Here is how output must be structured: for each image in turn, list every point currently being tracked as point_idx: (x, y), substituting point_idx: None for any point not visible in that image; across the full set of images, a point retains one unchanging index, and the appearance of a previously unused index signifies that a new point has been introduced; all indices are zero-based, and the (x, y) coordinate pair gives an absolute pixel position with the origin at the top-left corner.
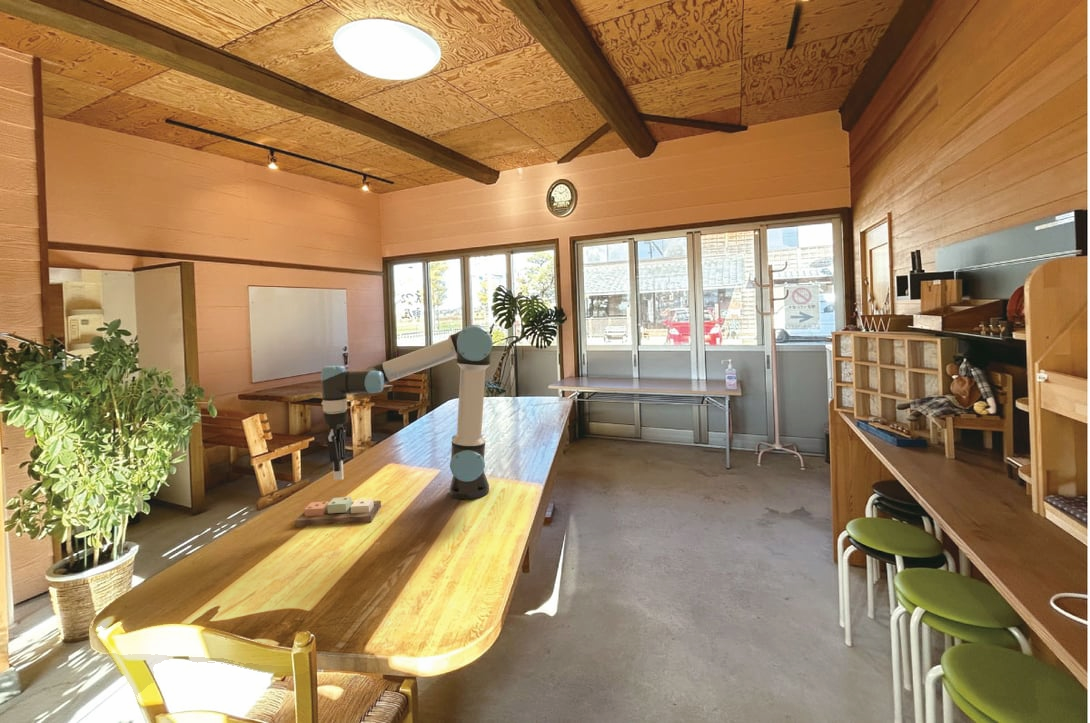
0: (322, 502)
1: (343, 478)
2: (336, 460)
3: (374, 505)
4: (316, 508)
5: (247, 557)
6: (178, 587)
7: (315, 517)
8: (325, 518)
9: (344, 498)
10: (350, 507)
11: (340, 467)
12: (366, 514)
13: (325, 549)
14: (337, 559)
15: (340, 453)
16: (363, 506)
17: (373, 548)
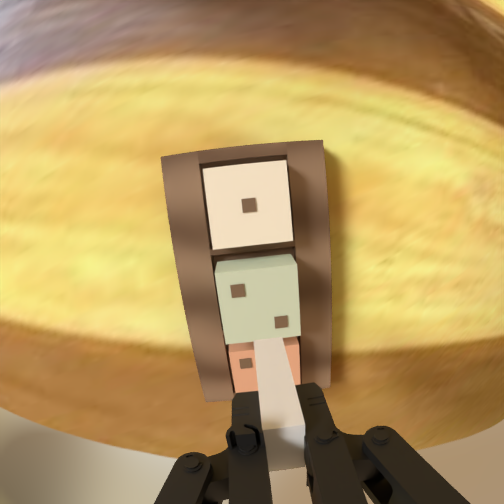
0: (240, 370)
1: (256, 340)
2: (393, 438)
3: (200, 168)
4: (298, 363)
5: (448, 375)
6: (493, 396)
7: (317, 344)
8: (330, 307)
9: (235, 295)
10: (292, 239)
11: (296, 394)
12: (308, 162)
13: (461, 223)
14: (497, 173)
15: (270, 491)
16: (287, 183)
17: (462, 96)
